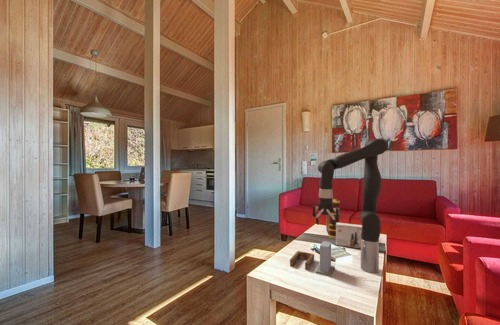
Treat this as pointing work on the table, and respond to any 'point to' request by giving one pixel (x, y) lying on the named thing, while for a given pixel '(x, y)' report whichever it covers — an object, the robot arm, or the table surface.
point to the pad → (325, 272)
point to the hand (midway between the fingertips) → (325, 225)
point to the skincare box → (348, 235)
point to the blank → (325, 256)
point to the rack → (302, 255)
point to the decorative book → (329, 220)
